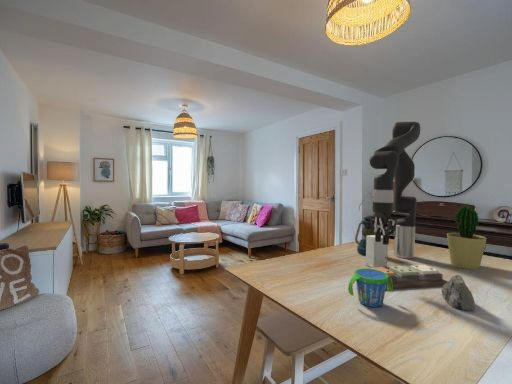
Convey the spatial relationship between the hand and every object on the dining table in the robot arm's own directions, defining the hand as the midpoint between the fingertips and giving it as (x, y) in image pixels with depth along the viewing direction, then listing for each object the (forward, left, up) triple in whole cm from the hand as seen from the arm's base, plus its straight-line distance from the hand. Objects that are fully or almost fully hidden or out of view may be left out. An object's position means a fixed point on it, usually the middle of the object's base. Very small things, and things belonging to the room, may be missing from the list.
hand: (381, 242), depth 107 cm
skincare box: (-19, +11, -16) cm, 27 cm away
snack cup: (+16, -15, -17) cm, 27 cm away
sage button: (0, +10, -13) cm, 17 cm away
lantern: (-40, +20, -17) cm, 48 cm away
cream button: (0, +20, -13) cm, 24 cm away
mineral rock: (+20, +15, -17) cm, 30 cm away
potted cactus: (-14, +56, -16) cm, 60 cm away
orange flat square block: (0, 0, -13) cm, 13 cm away
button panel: (0, +10, -16) cm, 19 cm away
